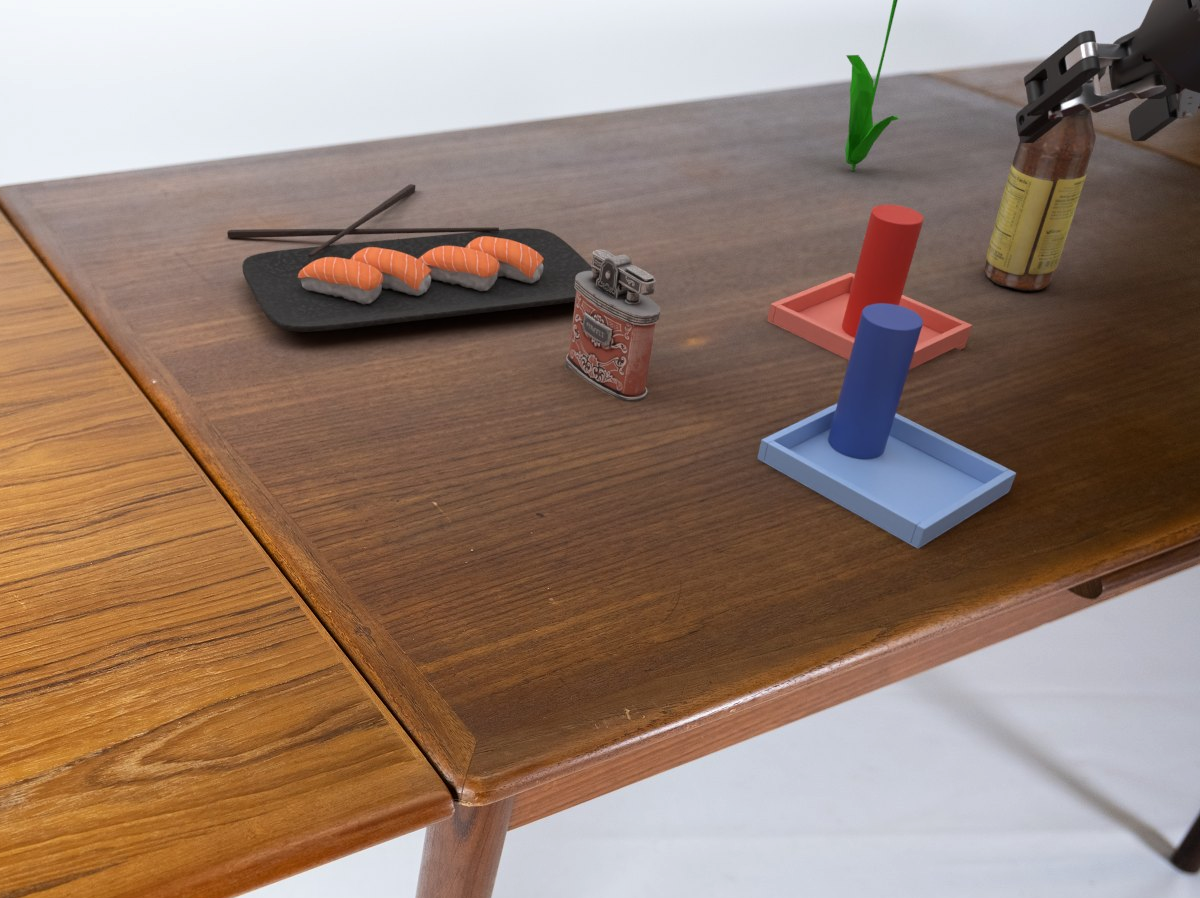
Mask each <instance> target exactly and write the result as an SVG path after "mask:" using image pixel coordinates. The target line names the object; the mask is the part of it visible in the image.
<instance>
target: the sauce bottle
mask: <svg viewBox="0 0 1200 898" xmlns="http://www.w3.org/2000/svg"><path fill="white" fill-rule="evenodd" d="M1107 67H1108V66H1106V67H1103V68H1100V72H1099V73H1098V80H1099V82H1101V79H1102V78H1103V77H1104V76H1105V75H1106V72H1107V71H1106V70H1107ZM1081 94H1082V86H1081V87H1079V88H1078V89H1077V90H1075V91H1074V92H1073V93H1071V94H1070V95H1069V96H1067V97H1066V99H1067V101H1070V100H1072V99H1075V98H1077V97H1079V96H1081ZM1096 138H1097V135H1096V132H1095V128H1094V122H1093V115H1092V111H1090V110H1089V109H1085V110H1082V111H1080V112H1077V113H1074V114H1072V115H1069V116H1067V117H1064V118H1063V120H1062V121H1060V122H1059V123H1058V124H1057V125H1055V126H1054V127H1053V128H1052V129H1050V130H1049V131H1048V132H1047V133H1045V134H1044V135H1043V136H1041V137H1040V138H1039V139H1038V140H1036V141H1035V142H1034V143H1021V141H1020V140H1019V142H1018V145H1017V148H1016V150H1015V153H1014V156H1013V159H1012V162H1011V166H1010V170H1009V173H1008V176H1007V180H1006V183H1005V186H1004V190H1003V194H1002V197H1001V201H1000V204H999V208H998V211H997V215H996V218H995V222H994V226H993V229H992V234H991V238H990V240H989V243H988V248H987V252H986V254H985V258H986V259H985V265H984V269H983V270H984V273H985V276H986V277H987V278H988V279H990V281H991V282H992V283H995V284H996V285H998V286H1001V287H1006V288H1009V289H1013V290H1016V291H1023V292H1025V291H1026V292H1027V291H1028V292H1033V291H1041V290H1043V289H1045V288H1047V287H1049V285H1050V283H1051V281H1052V280H1053V277H1054V273H1055V270H1057V269H1058V266H1059V264H1060V260H1061V256H1062V253H1063V251H1064V247H1065V244H1066V242H1067V238H1068V234H1069V231H1070V228H1071V226H1072V222H1073V220H1074V216H1075V213H1076V209H1077V206H1078V203H1079V200H1080V196H1081V193H1082V190H1083V187H1084V184H1085V181H1086V177H1087V175H1088V170H1087V169H1088V167H1089V163H1090V160H1091V157H1092V154H1093V151H1094V147H1095V144H1096Z"/></svg>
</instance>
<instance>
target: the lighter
mask: <svg viewBox="0 0 1200 898" xmlns="http://www.w3.org/2000/svg"><path fill="white" fill-rule="evenodd" d="M590 265H591V266H592V271H584V272H580V273H578V274H577V275H576V277H575V285H574V287H575V289H576V299H575V302H574V309H573V310H574V311H573V316H572V326H571V334H570V343H569V351H568V353H567V354H566V357H565V363H564V369H565V370H566V371H569V370H572V371H573V372H574V373H575V374H576V375H578V376H579V377H580V378H582V379H583V380H584V381H585V382H587V383H588V384H590V385H591V386H593V387H594V388H597V390H600V391H601V392H603V393H604V394H607V395H609V396H611V397H613V398H615V399H617V400H618V401H619V400H620V401H621V402H627V403H635V402H636V403H637V402H640V401H643V400H645V399H646V397H647V396H648V395H647V394H648V389H647V387H646V386H647V385H646V384H647V379H648V373H649V368H650V367H649V366H650V360H651V355H652V349H653V348H652V347H653V341H654V336H655V335H654V334H655V329H656V323H658V322H659V320H660V316H661V315H660V314H661V306H659V304H657V302H656V301H654V300H652V299H651V298H650V297H649V296H652V295H654V293H655V287H656V279H655V278H654V276H653V275H652V274H650V273H648V272H647V271H645V270H644V269H641V268H640V267H638V266H636V265H633V262H632V259H631V258H630V256H629V255H627V254H619V255H614V254H612V253H611V252H609V251H608V250H605V249H596V250H593V251H592V255H591V263H590Z"/></svg>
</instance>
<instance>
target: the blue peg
mask: <svg viewBox="0 0 1200 898" xmlns="http://www.w3.org/2000/svg"><path fill="white" fill-rule="evenodd" d="M922 325H923V320H922V318H921V316H920V315H918V314H917V313H916V312H914V311H912V310H910V309H908V308H905V307H902V306H898V305H894V304H885V303H879V304H872V305H868V306H866V307H865V308H864V309H863V311H862V314H861V318H860V322H859V325H858V329H857V333H856V336H855V340H854V344H853V348H852V351H851V355H850V359H849V360H848V362H847V367H846V371H845V375H844V377H843V381H842V386H841V389H840V393H839V397H838V400H837V402H836V404H837V407H836V411H835V415H834V418H833V422H832V426H831V429H830V433H829V437H828V441H829V444H830V446H831V447H832V448H833V449H834V450H836V451H837V452H839V453H841V454H843V455H846V456H849V457H852V458H857V459H873V458H877V457H879V456H881V455H882V454H883V453H884V451H885V447H886V444H887V441H888V437H889V434H890V431H891V428H892V424H893V421H894V418H895V414H896V413H897V410H898V407H899V404H900V400H901V398H902V395H903V391H904V388H905V384H906V381H907V379H908V374H909V371H910V370H909V368H910V365H911V361H912V358H913V355H914V352H915V348H916V345H917V342H918V338H919V335H920V332H921V328H922Z"/></svg>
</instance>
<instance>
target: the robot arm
mask: <svg viewBox="0 0 1200 898" xmlns="http://www.w3.org/2000/svg"><path fill="white" fill-rule="evenodd" d="M1095 32H1096V31H1094V30H1084V31H1081V32H1079V33H1077V34H1075V35H1074V36H1073V37H1071V38H1070V39H1069V40H1068V41H1067V42H1065V43H1063V45H1062V46H1060V47H1059V48H1058V49H1057V50H1056V51H1054V52H1053V53H1052V54H1051V55H1049V56H1048V57H1047V58H1046V59H1044V60H1043V61H1042V62H1041V63H1039V64H1038V65H1037V66H1036V67H1035V68H1033V69H1032V70H1031V71H1030V72H1028V73H1027V74H1026V75H1025V76H1024V77H1023V82H1024V83H1023V84H1024V87H1025V91H1026V92H1025V93H1026V98H1027V104H1026V105H1025V106H1024V107H1023V108H1021V109H1020V110H1019V111H1017V113H1016V115H1015V123H1016V129H1017V130H1016V131H1017V137H1019V142H1020V141H1021V143H1034V142H1035V141H1036V140H1038V139H1039V138H1040V137H1041V136H1043V135H1044V134H1045V133H1047V132H1048V131H1049V130H1050V129H1052V128H1053V127H1054V126H1055V125H1057V124H1058V123H1059V122H1060V121H1062V120H1063V118H1064V117H1067V116H1069V115H1072V114H1074V113H1077V112H1080V111H1082V110H1085V109H1089V110H1090V111H1091V113H1093V114H1094V113H1095V114H1096V113H1097V114H1098V113H1101V112H1103V111H1105V110H1108V109H1111V108H1114V107H1116V106H1119V105H1122V104H1124V103H1127V102H1129V101H1132V100H1134V99H1138V100H1144V101H1143V102H1142V103H1140V104H1139V105H1137V106H1136V107H1135V108H1133V109H1132V110H1131V111H1130V113H1129V115H1128V124H1129V131H1130V136H1131V140H1132V141H1133V142H1145V141H1147V140H1149V139H1150V138H1152V137H1153V136H1154V135H1156V134H1157V133H1159V132H1160V131H1161V130H1164V128H1166V127H1168V126H1169V125H1170V124H1172V123H1174V122H1175V121H1176V120H1177V119H1179V120H1180V119H1181V120H1183V119H1188V118H1190V117H1193V116H1195V115H1196V114H1197V113H1198V111H1199V110H1198V109H1200V0H1151V3H1150V5H1149V7H1148V9H1147V11H1146V13H1145V16H1144V18H1143V20H1142V22H1141V23H1140V25H1139V27H1138V28H1136V29H1133V31H1130V32H1129V33H1127V34H1124V35H1122V36H1120V37H1119V38H1117V39H1116V40H1115V41H1114V42H1113V43H1102V42H1101V43H1099V42H1097V38H1096V33H1095ZM1106 66H1107V67H1108V77H1109V82H1110V88H1111V91H1109V92H1106V93H1103V94H1102V93H1101V87H1100V81H1099V80H1098V73H1099V72H1100V68H1103V67H1106ZM1107 67H1106V68H1107ZM1081 86H1082V94H1081V96H1079V97H1077V98H1075V99H1072V100H1070V101H1067V99H1066V97H1067V96H1069V95H1070V94H1071V93H1073V92H1074V91H1075V90H1077V89H1078V88H1079V87H1081Z"/></svg>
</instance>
